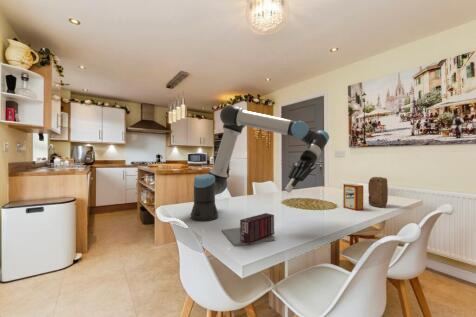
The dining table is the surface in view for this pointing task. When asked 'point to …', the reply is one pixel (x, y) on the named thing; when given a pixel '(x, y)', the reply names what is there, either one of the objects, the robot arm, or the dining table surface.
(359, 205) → the baking soda box
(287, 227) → the dining table surface
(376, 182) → the block
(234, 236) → the mat
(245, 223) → the supplement box
